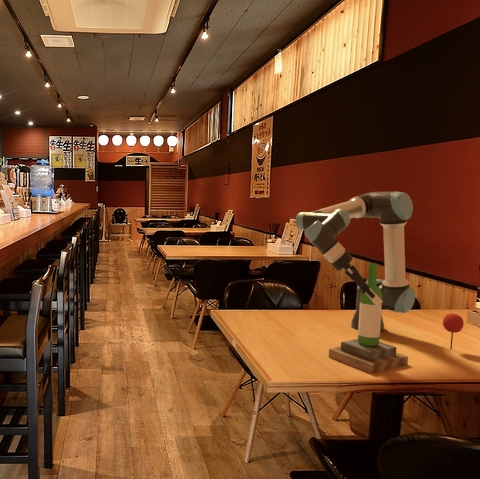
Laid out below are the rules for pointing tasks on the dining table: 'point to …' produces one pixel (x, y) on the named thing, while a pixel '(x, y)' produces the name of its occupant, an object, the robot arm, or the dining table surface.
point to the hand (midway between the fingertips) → (377, 300)
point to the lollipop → (453, 324)
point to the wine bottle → (370, 313)
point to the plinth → (368, 363)
